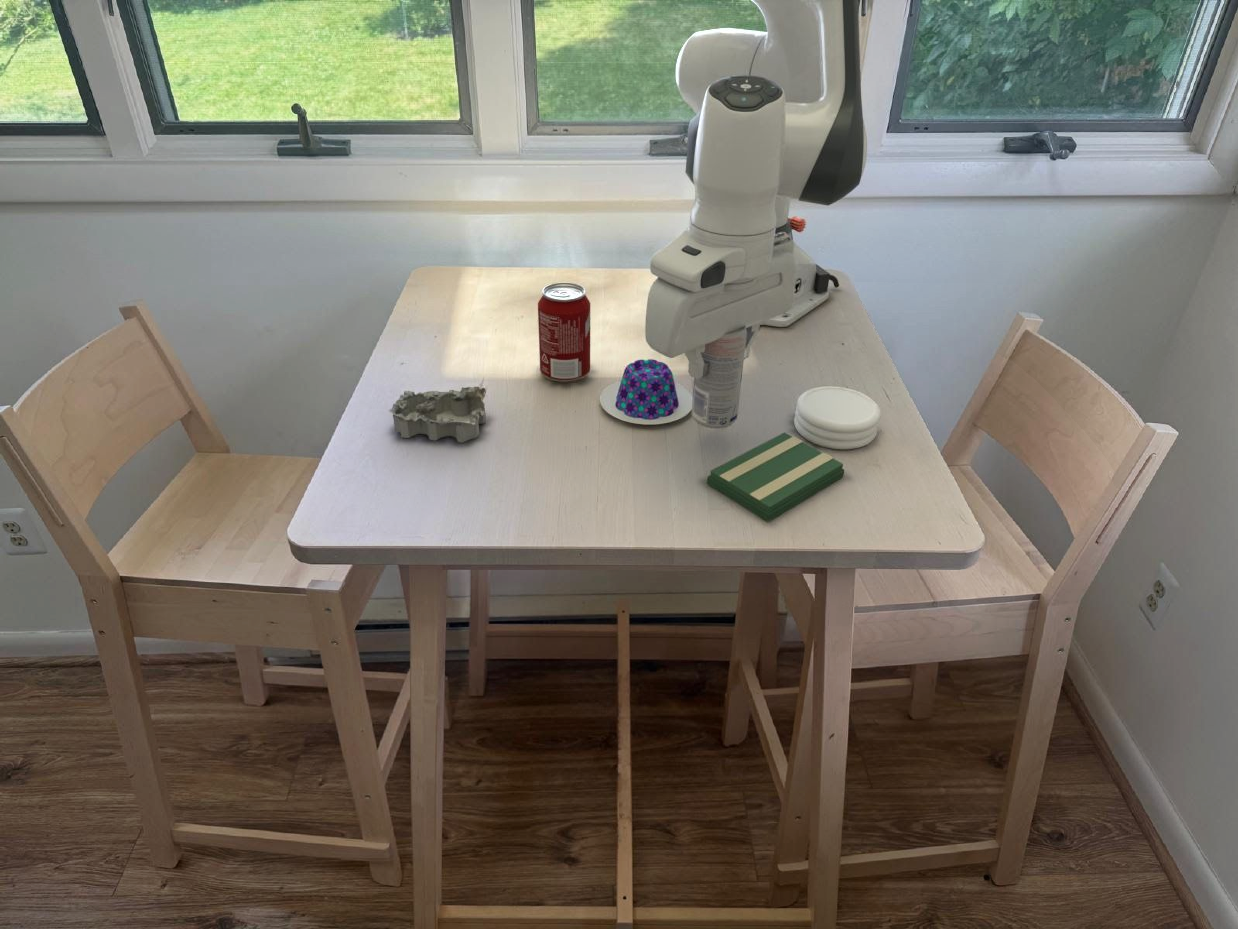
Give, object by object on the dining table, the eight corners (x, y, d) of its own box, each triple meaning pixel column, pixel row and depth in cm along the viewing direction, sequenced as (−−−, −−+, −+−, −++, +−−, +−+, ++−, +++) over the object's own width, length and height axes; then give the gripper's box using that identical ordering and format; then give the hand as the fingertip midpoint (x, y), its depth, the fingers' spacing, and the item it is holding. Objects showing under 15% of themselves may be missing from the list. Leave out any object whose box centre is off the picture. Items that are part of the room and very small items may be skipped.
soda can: (583, 388, 114) (583, 304, 107) (534, 382, 115) (530, 298, 108) (595, 365, 120) (595, 283, 113) (547, 359, 121) (545, 278, 114)
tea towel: (782, 443, 104) (784, 430, 103) (843, 477, 99) (846, 463, 98) (706, 483, 97) (707, 469, 96) (767, 522, 92) (770, 507, 90)
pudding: (589, 387, 114) (589, 352, 111) (675, 377, 117) (677, 342, 114) (614, 435, 105) (614, 397, 102) (707, 422, 108) (710, 385, 105)
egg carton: (491, 415, 108) (490, 386, 106) (473, 447, 102) (471, 418, 100) (410, 406, 110) (406, 377, 107) (387, 437, 103) (383, 407, 101)
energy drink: (729, 404, 105) (739, 312, 98) (742, 428, 100) (753, 333, 93) (686, 407, 104) (693, 314, 97) (697, 431, 99) (705, 336, 93)
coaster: (804, 452, 103) (809, 427, 101) (785, 409, 111) (788, 385, 109) (887, 450, 103) (893, 425, 101) (861, 407, 112) (866, 383, 110)
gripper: (772, 220, 98) (758, 332, 106) (638, 261, 87) (633, 383, 95) (817, 235, 94) (799, 350, 102) (682, 281, 83) (673, 406, 91)
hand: (718, 366), depth 98 cm, fingers closed on energy drink, 5 cm apart
